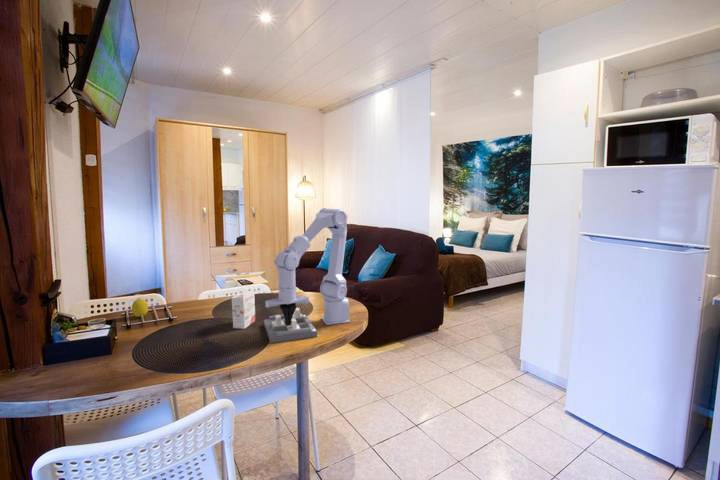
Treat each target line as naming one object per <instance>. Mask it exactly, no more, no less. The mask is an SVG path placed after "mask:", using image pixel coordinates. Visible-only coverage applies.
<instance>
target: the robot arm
mask: <svg viewBox="0 0 720 480" xmlns="http://www.w3.org/2000/svg"><path fill="white" fill-rule="evenodd" d="M315 215H316V216H315V219H314V220H313V221H312V222H311V224H310V225H309V227H307V229H306V230H305V232H304V233H303V234H302V235H297V236H294V237H293V240H292V242H291V243H289V244H288V246H287V247H284V250H283V251H282V250H281V251H280V252H279V253H277V255H276V256H275V259H274V262H273V263H274V265H275V266H276V268H277V273H278V276H277V277H278V298H274V299H267V300H265V307H266V308H271V307H278V306H279V308H280V310H281V313H282V315H284V318H285V323H286V326H290V324H291V319H292V316H293V314H295V312H294V311H295V310H296V308H297V305H298V304H309V303H310V297H309V296H306V295H305V296H297V288H296V287H297V285H296V284H297V283H296V277H297V275H296V268H298V267H299V264H300V260H301V258H302V257H303V255H305V253H306V251H308V249H309V248H310V246H311V241H312V240H313V239H314V238H315V237H316V236H317V235H318V234H320V232H321V231H322V230H323V229H324V228H327V229H328V230H329V231H330V232H331V234H332V236H331V243H330V252H329V262H328V268H327V269H328V270H327V274H325V275H324V276H323V277H322V282H321V283H320V287H319V292H320V294H321V295H322V297H323V302H324V303H323V306H324V307H323V308H324V309H323V311H324V313H323V314H324V316H322V317H320V318H321V320H322V321H323V322H324V323H325V325H326V326H329V325H330V326H331V325H337V324H343V323H344V324H345V323H350V302H349V299H348V297H346V296H347V293H348V288H347V280H346V278H345V277H344V276H343V268H344V259H345V249H346V242H347V235H348V234H347V233H348V227H347V226H348V225H347V224H348V214H347V213H346V212H345V210H343V209H341V208H326V207H324V208H321V209H320V210H319V212H317V213H316V214H315Z"/></svg>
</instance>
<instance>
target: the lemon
mask: <svg viewBox="0 0 720 480" xmlns="http://www.w3.org/2000/svg"><path fill="white" fill-rule="evenodd" d="M148 311H149V304H148V302H147V301H146V299H144V298H141V297H138V298H137V299H136V300H134V301H133V302H132V304H131V312H132V314H133V315H134V316H136V317H138V318H140V317H139V316H140V315H142V317H144V316H145V315H147V313H148Z"/></svg>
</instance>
